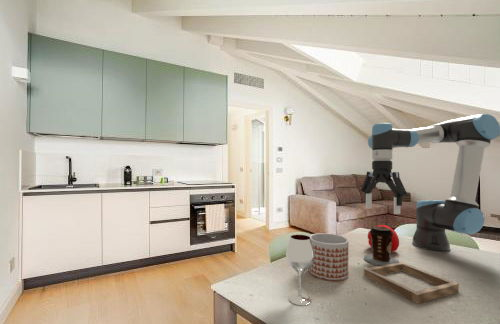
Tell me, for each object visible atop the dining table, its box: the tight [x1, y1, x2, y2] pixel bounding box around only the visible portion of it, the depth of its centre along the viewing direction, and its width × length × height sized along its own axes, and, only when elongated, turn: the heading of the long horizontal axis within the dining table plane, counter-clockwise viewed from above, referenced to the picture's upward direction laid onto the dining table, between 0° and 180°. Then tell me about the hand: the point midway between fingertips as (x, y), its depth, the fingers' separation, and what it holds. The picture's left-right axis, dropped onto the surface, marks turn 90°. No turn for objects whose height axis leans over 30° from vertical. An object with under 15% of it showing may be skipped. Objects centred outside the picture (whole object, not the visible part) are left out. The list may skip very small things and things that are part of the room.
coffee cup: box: [369, 225, 393, 262], centre depth 102 cm, size 9×8×13 cm
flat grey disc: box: [363, 253, 400, 266], centre depth 102 cm, size 13×13×1 cm
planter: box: [308, 232, 349, 282], centre depth 90 cm, size 14×14×13 cm
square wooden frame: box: [363, 261, 460, 304], centre depth 82 cm, size 19×19×2 cm
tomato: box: [367, 224, 400, 253], centre depth 116 cm, size 13×13×13 cm
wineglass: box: [285, 234, 315, 307], centre depth 71 cm, size 8×8×18 cm
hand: (382, 211), depth 103 cm, fingers open, 13 cm apart
